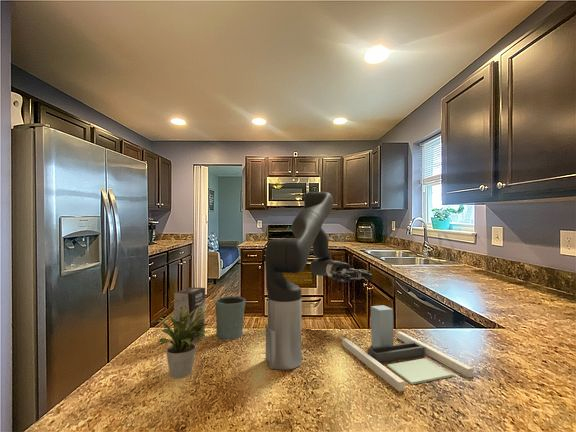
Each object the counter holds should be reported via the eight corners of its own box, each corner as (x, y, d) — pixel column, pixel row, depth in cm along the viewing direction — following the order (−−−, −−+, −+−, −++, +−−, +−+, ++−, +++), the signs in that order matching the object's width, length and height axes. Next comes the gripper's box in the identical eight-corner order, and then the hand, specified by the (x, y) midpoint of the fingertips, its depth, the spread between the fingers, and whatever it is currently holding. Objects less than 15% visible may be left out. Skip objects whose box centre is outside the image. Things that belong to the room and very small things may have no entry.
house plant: (170, 399, 60) (171, 321, 61) (133, 381, 68) (135, 311, 68) (219, 370, 72) (220, 305, 73) (184, 357, 80) (184, 298, 80)
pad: (411, 384, 66) (411, 382, 66) (387, 366, 75) (387, 364, 75) (452, 376, 70) (452, 374, 70) (424, 360, 78) (424, 358, 78)
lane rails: (399, 391, 63) (398, 382, 63) (342, 345, 88) (342, 338, 88) (472, 376, 70) (472, 368, 70) (400, 337, 94) (400, 331, 94)
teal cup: (219, 329, 102) (219, 295, 102) (247, 330, 101) (247, 296, 102) (210, 341, 92) (211, 303, 92) (242, 341, 91) (242, 303, 92)
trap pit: (376, 364, 76) (376, 354, 76) (367, 357, 80) (367, 348, 80) (424, 356, 81) (424, 347, 81) (414, 350, 85) (414, 341, 85)
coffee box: (191, 346, 88) (191, 293, 88) (172, 344, 89) (173, 292, 89) (205, 335, 96) (206, 287, 97) (188, 334, 98) (188, 286, 98)
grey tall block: (380, 351, 84) (379, 310, 84) (371, 345, 88) (370, 306, 88) (393, 349, 85) (393, 309, 85) (384, 343, 89) (383, 305, 90)
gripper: (322, 262, 112) (342, 268, 97) (354, 260, 116) (378, 266, 101) (322, 281, 112) (342, 290, 96) (354, 279, 116) (378, 287, 101)
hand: (360, 278), depth 99 cm, fingers open, 8 cm apart
